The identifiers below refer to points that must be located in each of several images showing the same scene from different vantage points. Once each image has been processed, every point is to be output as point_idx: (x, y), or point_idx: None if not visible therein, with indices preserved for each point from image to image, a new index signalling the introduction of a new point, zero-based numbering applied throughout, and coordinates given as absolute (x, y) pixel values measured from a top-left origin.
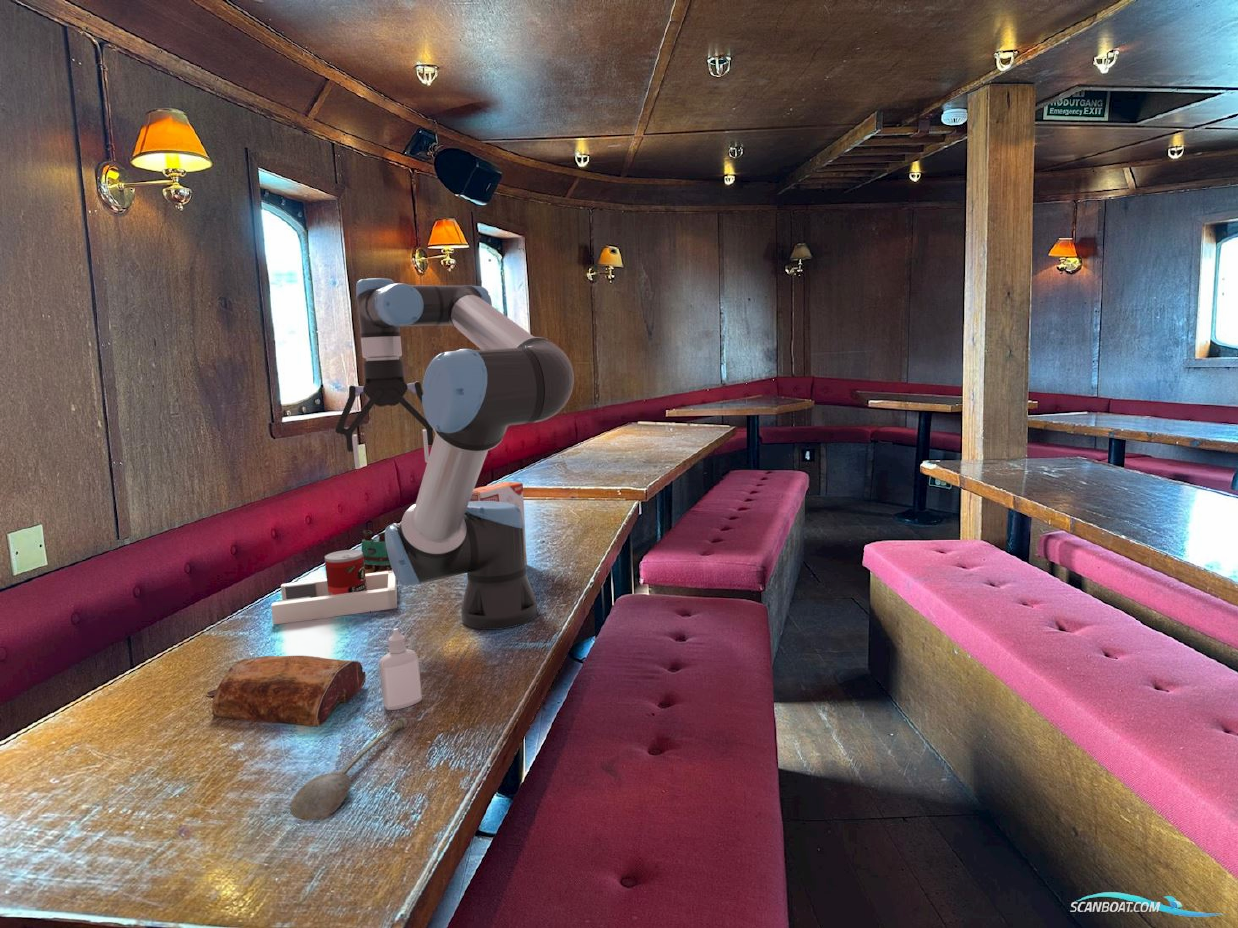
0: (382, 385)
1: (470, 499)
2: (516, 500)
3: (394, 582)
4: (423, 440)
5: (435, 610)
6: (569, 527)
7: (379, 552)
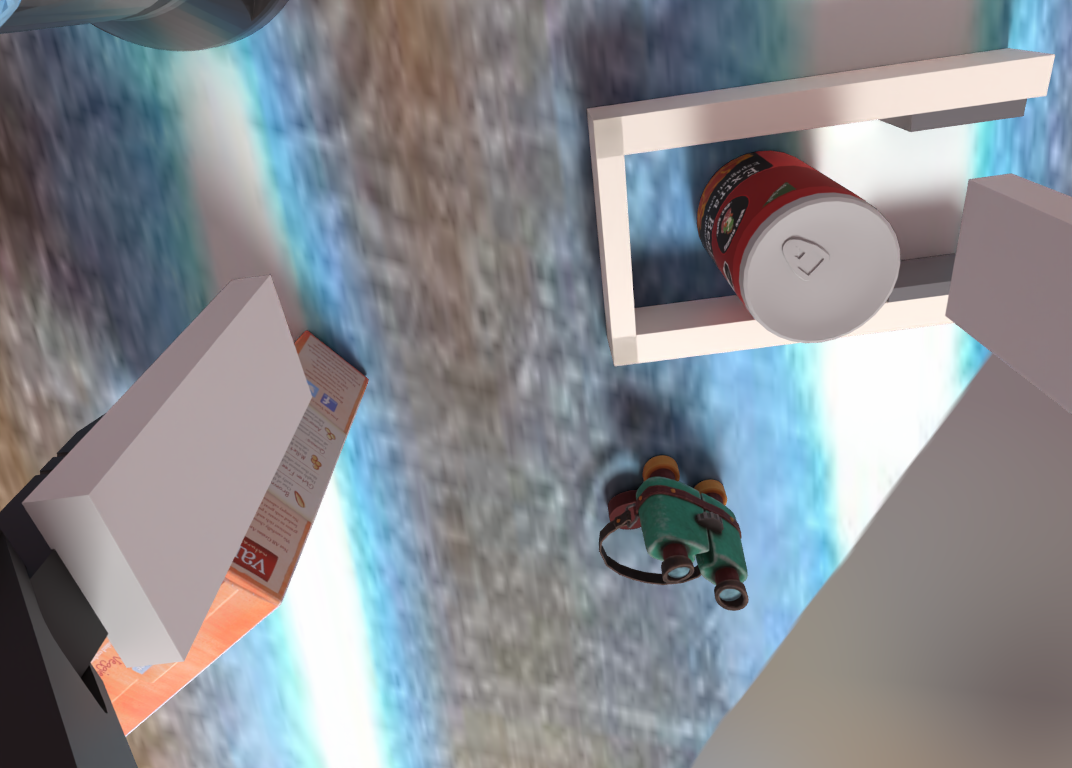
0: None
1: (259, 552)
2: None
3: (604, 218)
4: (223, 502)
5: (438, 36)
6: (139, 741)
7: (680, 511)
